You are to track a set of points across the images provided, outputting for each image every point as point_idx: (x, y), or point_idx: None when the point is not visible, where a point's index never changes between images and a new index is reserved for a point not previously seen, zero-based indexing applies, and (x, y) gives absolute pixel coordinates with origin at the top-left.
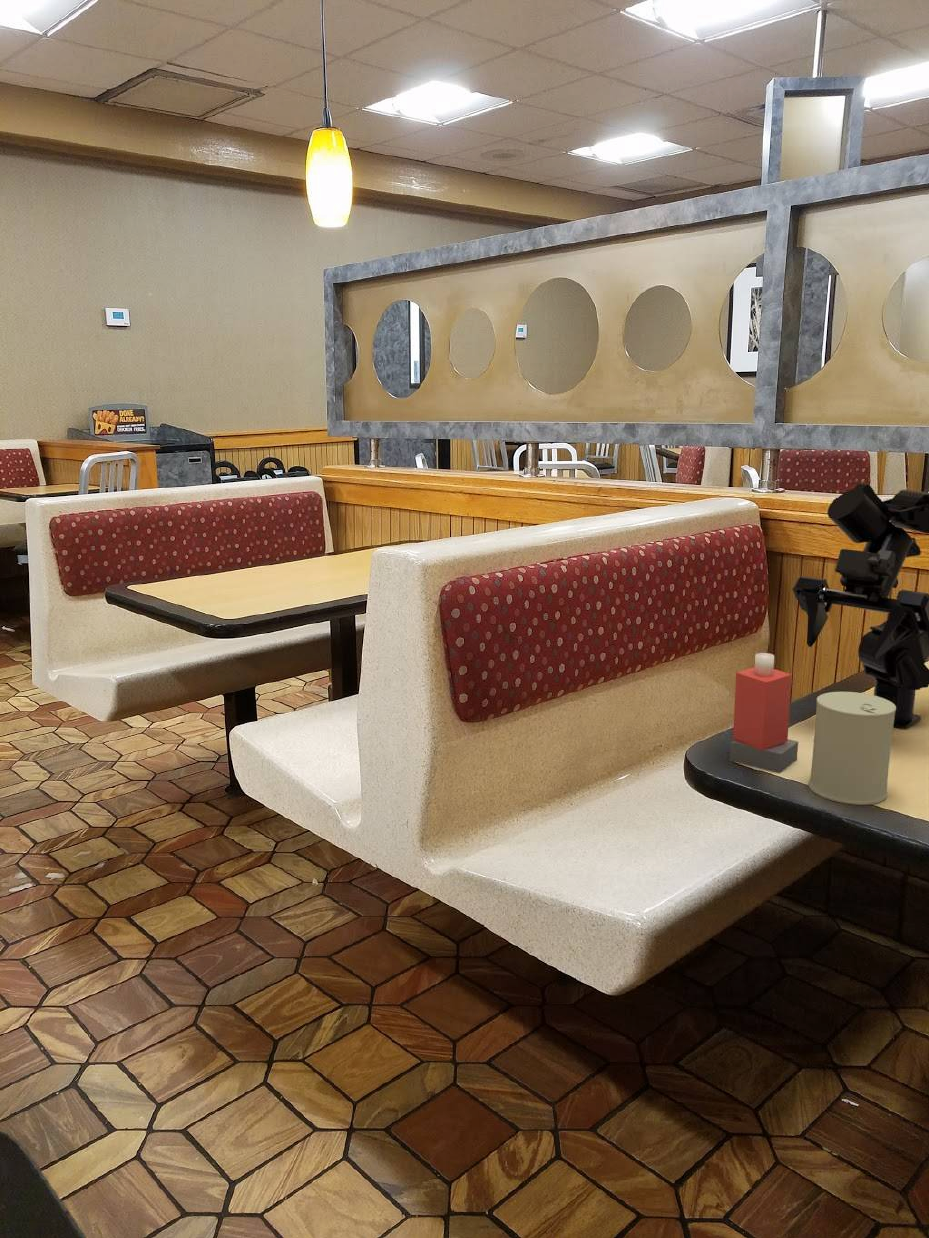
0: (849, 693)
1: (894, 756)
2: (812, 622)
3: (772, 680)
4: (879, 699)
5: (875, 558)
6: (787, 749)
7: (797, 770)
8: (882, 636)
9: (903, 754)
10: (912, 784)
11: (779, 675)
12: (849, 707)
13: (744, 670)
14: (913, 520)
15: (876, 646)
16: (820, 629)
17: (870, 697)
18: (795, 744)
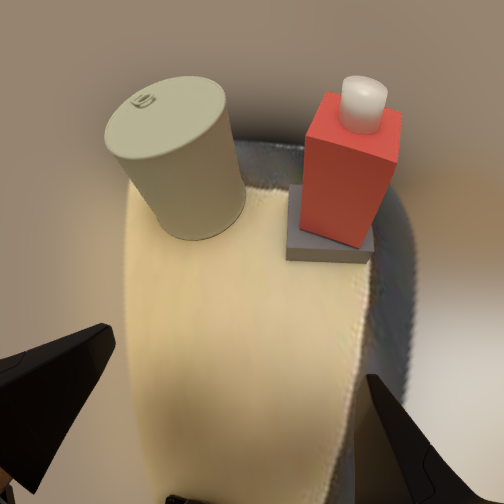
0: (173, 143)
1: (158, 362)
2: (404, 442)
3: (322, 100)
4: (123, 147)
5: None
6: (288, 205)
7: (271, 222)
8: (47, 354)
9: (148, 378)
10: (130, 262)
11: (325, 123)
12: (171, 93)
13: (398, 124)
14: None
15: (84, 337)
16: (358, 500)
17: (137, 147)
18: (287, 236)
